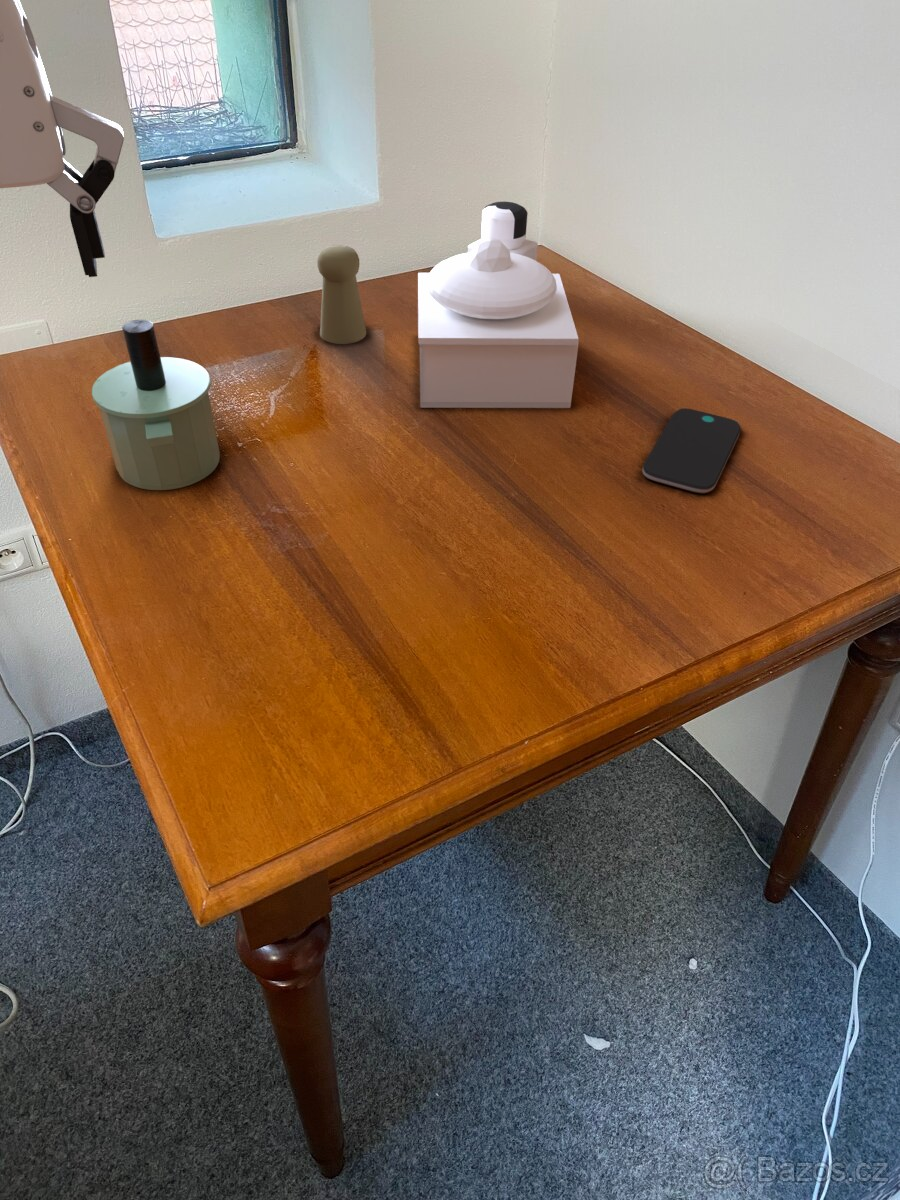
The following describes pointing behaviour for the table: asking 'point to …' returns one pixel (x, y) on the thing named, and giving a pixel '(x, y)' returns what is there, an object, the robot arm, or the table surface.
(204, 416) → the pot
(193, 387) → the pot lid
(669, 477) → the smartphone
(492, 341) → the white box
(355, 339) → the olive pawn
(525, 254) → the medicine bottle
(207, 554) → the table surface
